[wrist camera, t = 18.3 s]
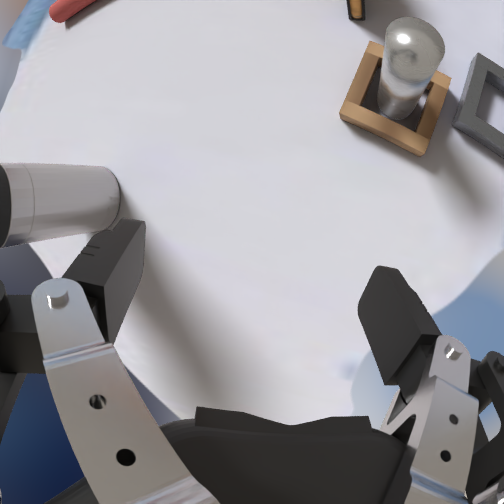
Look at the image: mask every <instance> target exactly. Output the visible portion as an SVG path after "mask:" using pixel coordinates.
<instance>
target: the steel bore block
mask: <svg viewBox="0 0 504 504" xmlns="http://www.w3.org/2000/svg"><path fill="white" fill-rule="evenodd" d="M485 81H487V82H488V83H490V84H491V85H493V86H494V87H496V88H497V89H499V90H500V91H502V92H503V93H504V69H503V68H502V67H500V66H499V65H497V64H496V63H494V62H493V61H491V60H490V59H488V58H486V57H485V56H483V55H481V54H480V53H477V54H476V56H475V57H474V58H473V60H472V61H471V65H470V68H469V72H468V76H467V79H466V83H465V86H464V89H463V93H462V96H461V99H460V102H459V105H458V108H457V112H456V115H455V117H454V120H453V123H452V126H454V127H456V128H457V129H459V130H461V131H462V132H464V133H465V134H467V135H469V136H470V137H472V138H474V139H475V140H477V141H478V142H480V143H481V144H483V145H484V146H486V147H487V148H489V149H490V150H492V151H493V152H495V153H496V154H498V155H499V156H500V157H502V158H503V159H504V134H503V133H501V132H500V131H498V130H497V129H495V128H494V127H492V126H491V125H489V124H488V123H486V122H485V121H483V120H482V119H480V118H479V117H477V116H476V115H475V114H476V110H477V107H478V104H479V100H480V97H481V93H482V89H483V85H484V82H485Z"/></svg>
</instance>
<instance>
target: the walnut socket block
mask: <svg viewBox="0 0 504 504" xmlns="http://www.w3.org/2000/svg"><path fill="white" fill-rule="evenodd" d="M383 52H384V46H382V45H380V44H377V43H375V42H372V41H369V44H368V46H367V48H366V51H365V53H364V56H363V58H362V60H361V63H360V65H359V67H358V70H357V72H356V75H355V77H354V79H353V82H352V84H351V86H350V89H349V91H348V93H347V96H346V98H345V100H344V103H343V105H342V107H341V109H340V112H339V114H340V119H342V120H344V121H347V122H349V123H351V124H353V125H356V126H358V127H360V128H362V129H364V130H367V131H369V132H371V133H373V134H375V135H377V136H379V137H381V138H384V139H386V140H388V141H390V142H392V143H394V144H396V145H398V146H400V147H401V148H403V149H405V150H407V151H409V152H411V153H413V154H415V155H417V156H418V157H421V156H422V155H424V154H425V152H426V149H427V146H428V144H429V141H430V139H431V136H432V133H433V131H434V128H435V125H436V123H437V120H438V117H439V114H440V111H441V109H442V106H443V103H444V100H445V97H446V94H447V91H448V88H449V85H450V81H451V78H450V77H448V76H447V75H445V74H443V73H441V72H439V71H437V70H436V71H435V73H434V75H433V76H432V78H431V80H430V82H429V84H428V85H427V87H426V89H428V90H430V91H429V94H428V97H427V100H426V102H425V105H424V108H423V110H422V113H421V116H420V118H419V121H418V124H417V126H416V129H415V131H412V130H410V129H408V128H406V127H404V126H402V125H400V124H398V123H396V122H394V121H392V120H390V119H388V118H385V117H383V116H381V115H379V114H377V113H375V112H372V111H370V110H368V109H366V108H363V107H362V105H363V102H364V100H365V97H366V95H367V93H368V90H369V88H370V85H371V83H372V81H373V78H374V76H375V73H376V71H377V68H378V66H379V67H381V68H382V60H383Z"/></svg>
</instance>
